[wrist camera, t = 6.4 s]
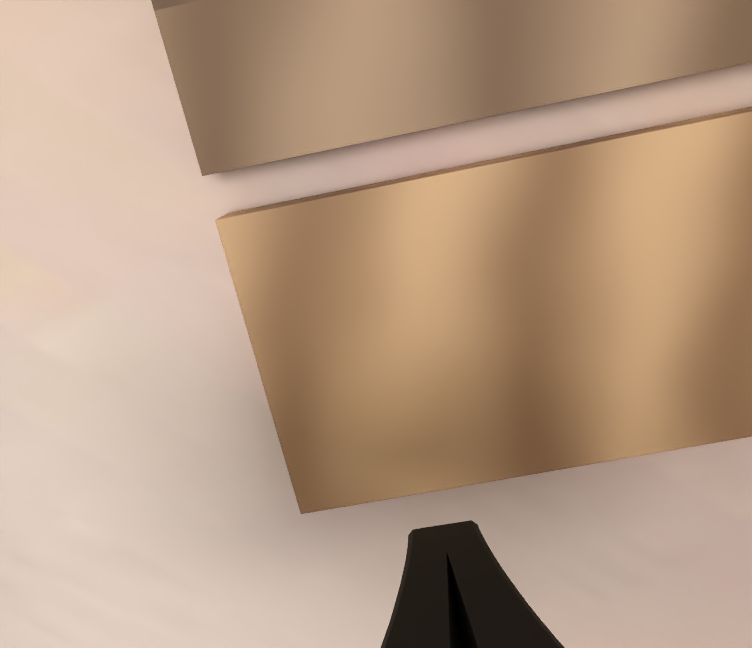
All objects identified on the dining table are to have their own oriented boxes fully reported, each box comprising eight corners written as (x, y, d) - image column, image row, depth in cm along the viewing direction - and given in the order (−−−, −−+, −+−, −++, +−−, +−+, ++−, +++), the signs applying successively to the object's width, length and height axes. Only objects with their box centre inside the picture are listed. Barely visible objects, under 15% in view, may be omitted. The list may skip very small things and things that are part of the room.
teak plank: (836, 89, 15) (884, 84, 14) (813, 398, 19) (849, 419, 17) (228, 213, 16) (215, 219, 15) (305, 486, 20) (301, 513, 18)
